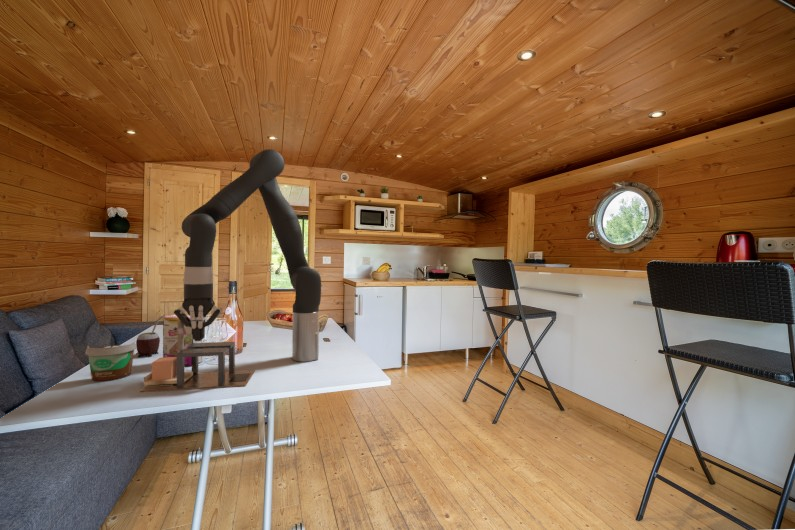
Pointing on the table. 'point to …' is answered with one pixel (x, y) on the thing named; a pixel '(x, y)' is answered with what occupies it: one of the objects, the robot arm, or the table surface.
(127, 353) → the food container
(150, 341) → the mate gourd
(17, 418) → the table surface
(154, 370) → the block
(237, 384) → the tunnel
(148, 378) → the sled
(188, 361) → the candy bar box
